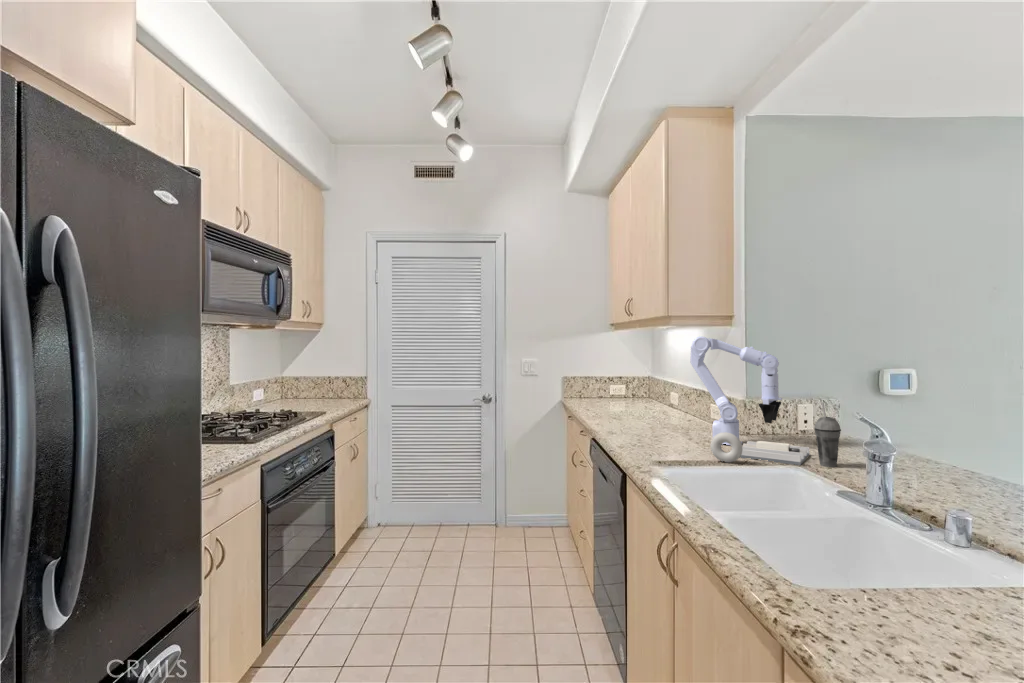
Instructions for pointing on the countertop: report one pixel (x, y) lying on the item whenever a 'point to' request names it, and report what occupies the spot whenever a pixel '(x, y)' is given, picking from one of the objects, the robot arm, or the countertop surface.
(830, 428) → the beverage cup
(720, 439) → the donut
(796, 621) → the countertop surface
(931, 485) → the countertop surface
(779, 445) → the white box with cylinder
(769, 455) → the grey tray
